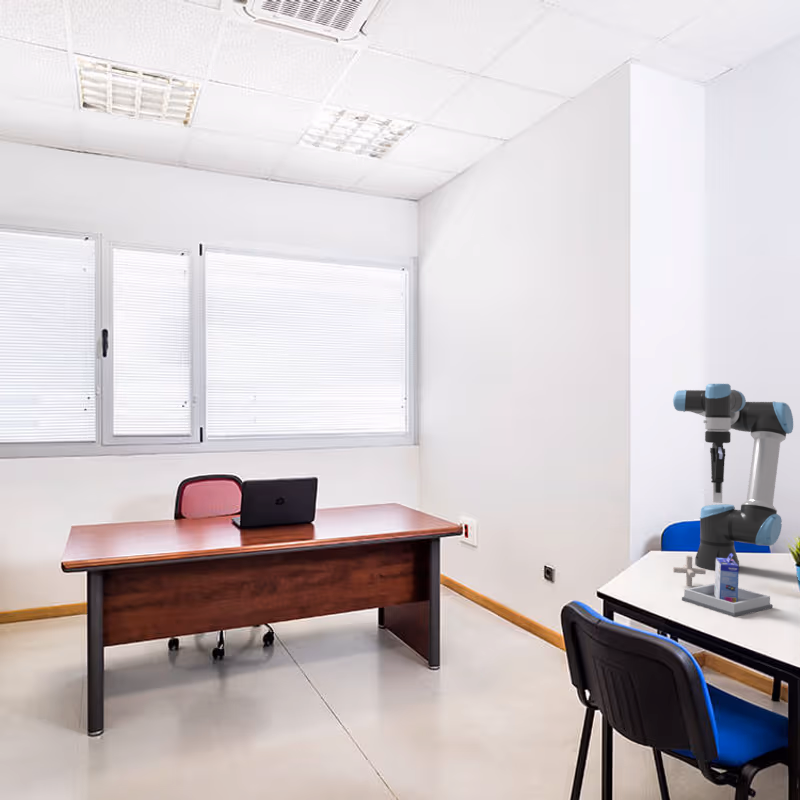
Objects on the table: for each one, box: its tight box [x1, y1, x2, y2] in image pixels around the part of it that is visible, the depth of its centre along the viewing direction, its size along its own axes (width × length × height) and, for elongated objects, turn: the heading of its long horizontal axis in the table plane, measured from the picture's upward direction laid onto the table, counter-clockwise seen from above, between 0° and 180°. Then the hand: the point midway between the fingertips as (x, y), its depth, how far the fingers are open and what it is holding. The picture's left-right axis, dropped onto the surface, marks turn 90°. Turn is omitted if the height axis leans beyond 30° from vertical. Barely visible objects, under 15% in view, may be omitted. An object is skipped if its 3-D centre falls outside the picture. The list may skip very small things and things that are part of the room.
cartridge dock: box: [681, 582, 774, 618], centre depth 205 cm, size 18×18×4 cm
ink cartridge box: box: [714, 553, 740, 603], centre depth 205 cm, size 10×6×14 cm, turn 163°
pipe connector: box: [672, 555, 706, 587], centre depth 225 cm, size 10×10×10 cm
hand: (717, 502), depth 218 cm, fingers closed
